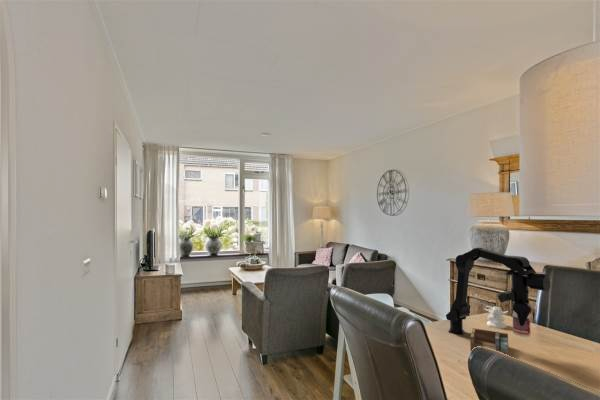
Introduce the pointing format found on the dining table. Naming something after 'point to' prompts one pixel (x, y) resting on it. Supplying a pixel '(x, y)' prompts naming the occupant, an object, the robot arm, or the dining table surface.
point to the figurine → (496, 317)
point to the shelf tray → (489, 340)
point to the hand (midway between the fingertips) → (521, 323)
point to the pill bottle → (521, 330)
